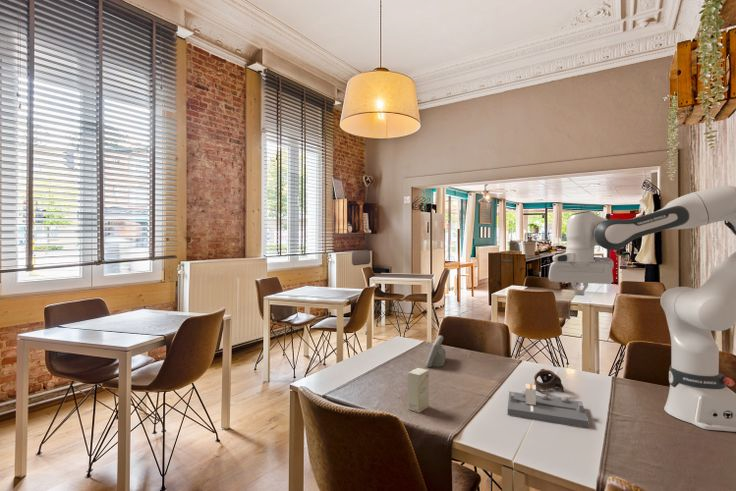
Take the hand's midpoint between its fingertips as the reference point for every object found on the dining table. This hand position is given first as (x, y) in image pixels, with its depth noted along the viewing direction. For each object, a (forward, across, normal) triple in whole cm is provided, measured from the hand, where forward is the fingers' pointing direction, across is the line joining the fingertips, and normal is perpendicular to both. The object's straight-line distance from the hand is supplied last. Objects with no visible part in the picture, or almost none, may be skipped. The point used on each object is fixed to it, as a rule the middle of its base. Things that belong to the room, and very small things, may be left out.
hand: (579, 295), depth 137 cm
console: (+34, +12, +24) cm, 43 cm away
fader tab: (+32, +16, +23) cm, 43 cm away
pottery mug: (+34, +10, +4) cm, 36 cm away
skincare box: (+34, +50, +36) cm, 70 cm away
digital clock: (+34, +55, -10) cm, 66 cm away
